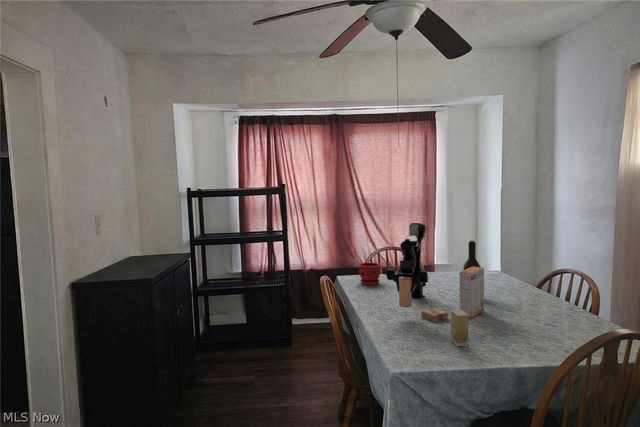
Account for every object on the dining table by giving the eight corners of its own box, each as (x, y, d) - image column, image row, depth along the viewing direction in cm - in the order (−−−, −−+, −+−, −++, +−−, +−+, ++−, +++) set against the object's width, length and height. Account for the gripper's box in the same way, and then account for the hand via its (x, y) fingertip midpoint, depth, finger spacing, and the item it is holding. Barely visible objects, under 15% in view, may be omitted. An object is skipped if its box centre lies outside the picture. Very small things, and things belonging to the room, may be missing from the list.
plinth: (433, 313, 177) (433, 307, 176) (447, 318, 170) (447, 312, 169) (421, 317, 172) (421, 310, 172) (435, 322, 166) (435, 315, 165)
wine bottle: (480, 295, 202) (481, 240, 199) (480, 300, 194) (480, 242, 192) (464, 294, 205) (464, 239, 203) (462, 298, 198) (462, 241, 195)
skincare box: (450, 340, 147) (450, 309, 146) (461, 339, 147) (461, 309, 146) (457, 347, 140) (457, 315, 140) (468, 346, 141) (469, 314, 140)
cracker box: (472, 308, 182) (472, 265, 180) (484, 311, 178) (485, 267, 176) (458, 316, 172) (458, 271, 171) (471, 319, 168) (472, 273, 166)
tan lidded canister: (405, 302, 176) (405, 275, 175) (414, 305, 171) (414, 277, 170) (396, 305, 173) (396, 277, 172) (405, 308, 168) (404, 279, 167)
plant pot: (382, 285, 226) (382, 266, 225) (360, 286, 227) (359, 266, 226) (379, 280, 239) (378, 261, 238) (358, 280, 240) (358, 262, 239)
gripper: (386, 252, 178) (381, 281, 168) (427, 254, 170) (424, 284, 161) (390, 265, 185) (385, 293, 176) (429, 267, 178) (426, 297, 169)
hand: (404, 292), depth 170 cm, fingers closed on tan lidded canister, 5 cm apart
